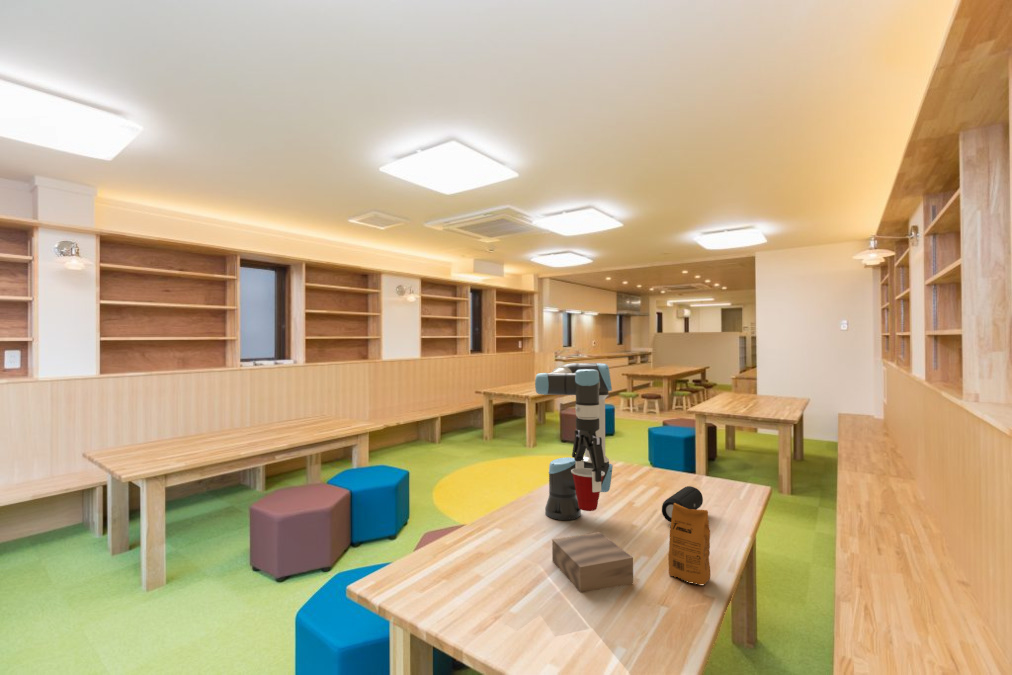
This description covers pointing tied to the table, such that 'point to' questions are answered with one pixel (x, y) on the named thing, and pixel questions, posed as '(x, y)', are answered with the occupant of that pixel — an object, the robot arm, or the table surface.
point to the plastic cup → (585, 488)
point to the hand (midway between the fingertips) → (588, 486)
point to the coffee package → (689, 545)
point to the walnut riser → (592, 561)
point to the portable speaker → (682, 501)
